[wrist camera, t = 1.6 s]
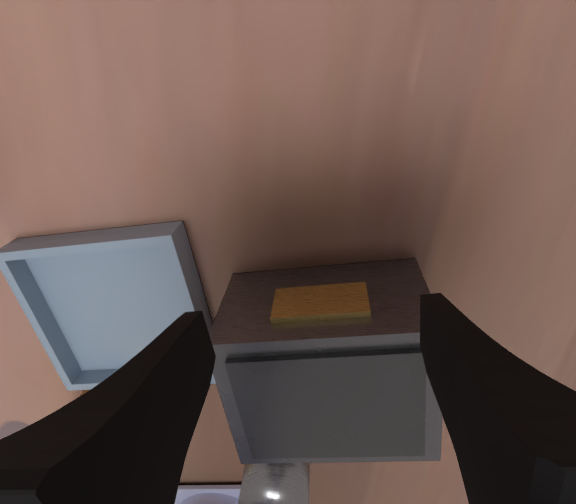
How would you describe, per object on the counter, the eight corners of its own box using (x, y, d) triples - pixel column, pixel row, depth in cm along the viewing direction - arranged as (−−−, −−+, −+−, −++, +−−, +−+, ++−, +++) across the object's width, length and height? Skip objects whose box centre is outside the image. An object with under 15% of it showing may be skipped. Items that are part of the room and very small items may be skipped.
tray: (223, 362, 26) (217, 383, 24) (82, 370, 27) (67, 390, 25) (182, 220, 21) (170, 235, 19) (15, 238, 22) (-9, 253, 21)
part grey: (314, 437, 28) (312, 528, 23) (259, 438, 29) (245, 527, 24) (307, 397, 26) (303, 486, 21) (249, 399, 27) (231, 486, 22)
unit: (415, 375, 25) (441, 471, 19) (259, 382, 26) (241, 474, 21) (415, 252, 21) (448, 329, 15) (231, 269, 22) (200, 344, 17)
